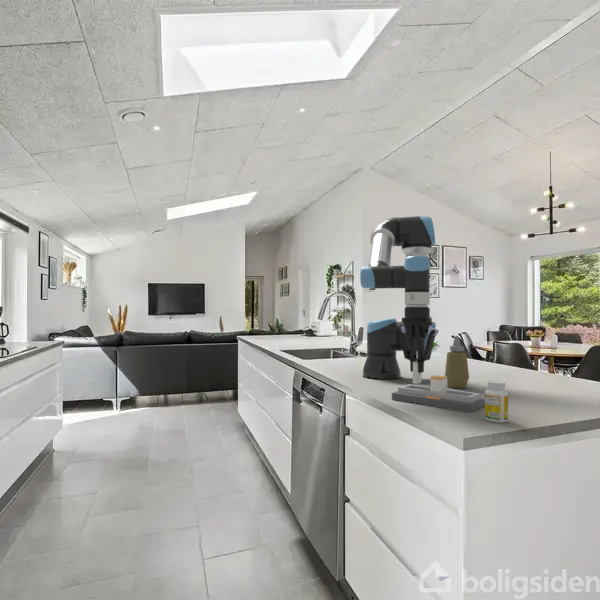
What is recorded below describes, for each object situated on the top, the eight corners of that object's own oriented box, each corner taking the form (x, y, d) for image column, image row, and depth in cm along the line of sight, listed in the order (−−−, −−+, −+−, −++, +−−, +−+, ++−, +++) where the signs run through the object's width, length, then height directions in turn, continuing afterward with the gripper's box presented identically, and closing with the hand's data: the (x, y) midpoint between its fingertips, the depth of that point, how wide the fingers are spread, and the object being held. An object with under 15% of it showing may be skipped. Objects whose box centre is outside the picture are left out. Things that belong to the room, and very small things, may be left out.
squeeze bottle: (472, 389, 151) (472, 336, 152) (448, 389, 152) (448, 336, 152) (464, 385, 160) (464, 335, 160) (441, 385, 160) (441, 335, 160)
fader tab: (430, 395, 130) (430, 376, 130) (437, 393, 133) (436, 375, 133) (440, 396, 128) (440, 378, 128) (447, 394, 131) (447, 376, 131)
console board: (391, 399, 134) (391, 387, 135) (411, 393, 143) (411, 383, 143) (470, 412, 118) (470, 399, 118) (486, 404, 127) (486, 392, 127)
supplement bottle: (491, 423, 107) (491, 383, 107) (480, 417, 112) (480, 380, 113) (512, 422, 108) (512, 383, 108) (500, 417, 113) (500, 379, 113)
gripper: (392, 306, 138) (392, 381, 137) (431, 306, 129) (431, 387, 129) (403, 306, 143) (404, 378, 143) (442, 306, 134) (442, 383, 134)
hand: (417, 382), depth 136 cm, fingers closed
